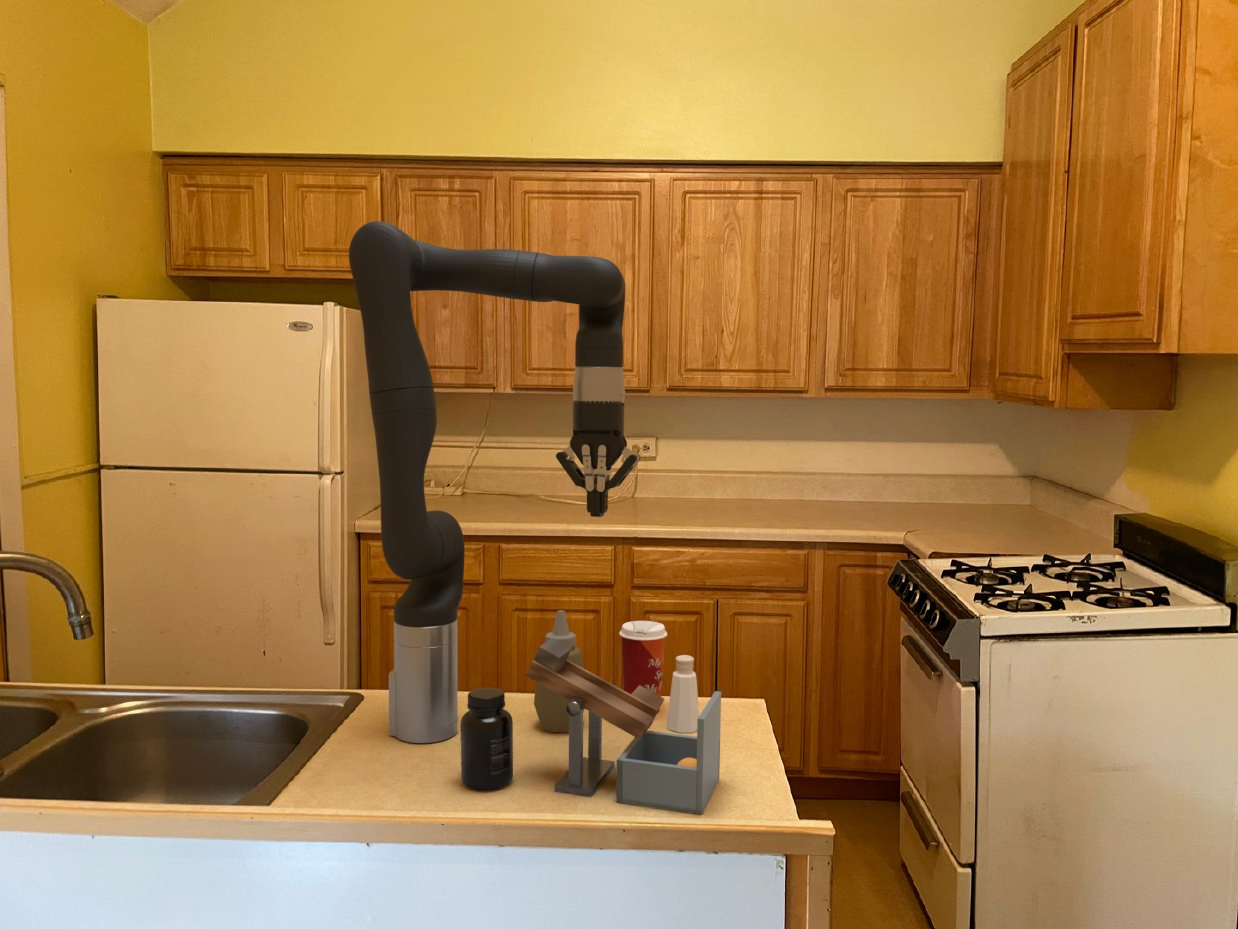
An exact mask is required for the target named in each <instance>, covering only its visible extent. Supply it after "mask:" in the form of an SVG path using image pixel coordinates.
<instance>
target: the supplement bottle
mask: <svg viewBox="0 0 1238 929" xmlns="http://www.w3.org/2000/svg"><path fill="white" fill-rule="evenodd" d="M505 699H506V698H505V691H504V690H503V689H501V688H495V687H480V688H475V689H471V690H470V691H469V692H468V693H467V704H466V705H467V710H468V711H467V712H465V713H463V715H462V717H461V719H460V724H459V725H460V727H459V728H460V768H461V770H460V774H461V783H462V784H463V786H464V787H466V788H467V789H469V790H471V791H477V792H490V791H491V792H492V791H497V790H500V789H504V788H505V787H507V786H508V785H510V784H511V782H512V781H513V779H514V735H513V734H514V730H513V729H514V728H513V727H514V726H513V725H514V724H513V717H512V715H511V713H510V712H509V711H508V710H506V709H505V707H506V701H505Z"/></svg>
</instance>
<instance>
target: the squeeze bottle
mask: <svg viewBox="0 0 1238 929" xmlns="http://www.w3.org/2000/svg"><path fill="white" fill-rule="evenodd" d="M552 628H553V629H552V631H550V632H548V633H546V635H544V636H545V640H544V641H545V642H544V643H546V642H547V641H549V640H550V639H552V638H554V639H556V640H558V641H560V642H562V643H563V644H565V645H567V646H569V647H571V648H572V649H571V651H570V653H569V656H568V658H567V660H569V661H571V662H573V663H575V664H577V665H578V666H580V667H582V668H584V661H583V651H582V650H581V649H580V648H579V647H578V646H576V645H577V635H576V634H575V633H574V632H572V631H570V630H569V624H568V621H567V615H566V611H565V610H563V609H562V610H561V609H560V610H557V611H556V615H555V619H554V624H553V627H552ZM534 689H535V690H534V696H533V697H534V698H533V705H534V709H535V712H536V714H537V718H538V721H539V724H540V727H541V728H542V729H543V730H545V731H548V732H553V733H566V732H567V733H569V714H568V713H567V711H566V707H567V705H568V704H569V700H568V699H566V698H565V697H563V696H561V695H559V694H558V693H556V692H554V691H552V690H550V689H549V688H547V687H545V686H543V685H541V684H540V683H538V682H536V681H535V688H534ZM585 710H586V709H584V708H583V714H584V712H585Z"/></svg>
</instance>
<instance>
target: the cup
mask: <svg viewBox="0 0 1238 929" xmlns="http://www.w3.org/2000/svg"><path fill="white" fill-rule="evenodd" d="M721 718H722V691H717V690H715V691H714V692H713V693H712V696H711V697H710V699H709V700H708V702H707V703H706V705H705V706H704V708H703V709H702V711H701V712H700V713H699V717H698V719H697V731H696V736H695V735H694V736H693V735H686V734H681V733H672V732H662V731H653V730H647V731H646V732H645V734H644V735H643V736H642V738H641V739H640V740H639V739H638V738H636V737H634V736H633V739H631V742H630V743H629V744H628V745H627V746H626V748H624V750H623V751H622V753H621V754H620V755H618V758H616V779H615V780H616V783H615V784H616V785H615V786H616V790H615V796H616V797H615V798H616V799H615V802H616V803H619V804H627V805H630V806H631V805H632V806H641V807H646V808H652V809H661V810H666V811H667V810H668V811H673V812H680V813H687V814H693V815H699V816H700V815H701V816H702V815H703V814H704V811H705V810H706V808H707V805H708V804H709V801H710V799H711V798H712V795H713V793H714V791H715V789H716V787H717V785H718V784H719V781H720V769H721V768H720V764H721V762H720V760H721V756H720V755H721V726H722V725H721V721H722V720H721ZM685 758H695V759H697V768H694V767H687V766H679V765H677V764H678V763H679V762H680V761H681V760H682V759H685Z"/></svg>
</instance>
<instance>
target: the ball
mask: <svg viewBox="0 0 1238 929" xmlns="http://www.w3.org/2000/svg"><path fill="white" fill-rule="evenodd" d="M677 765H679V766H687V767H694V768H697V759H695V758H685V759H682V760H681V761H680V762H679V763H678V764H677Z"/></svg>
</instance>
